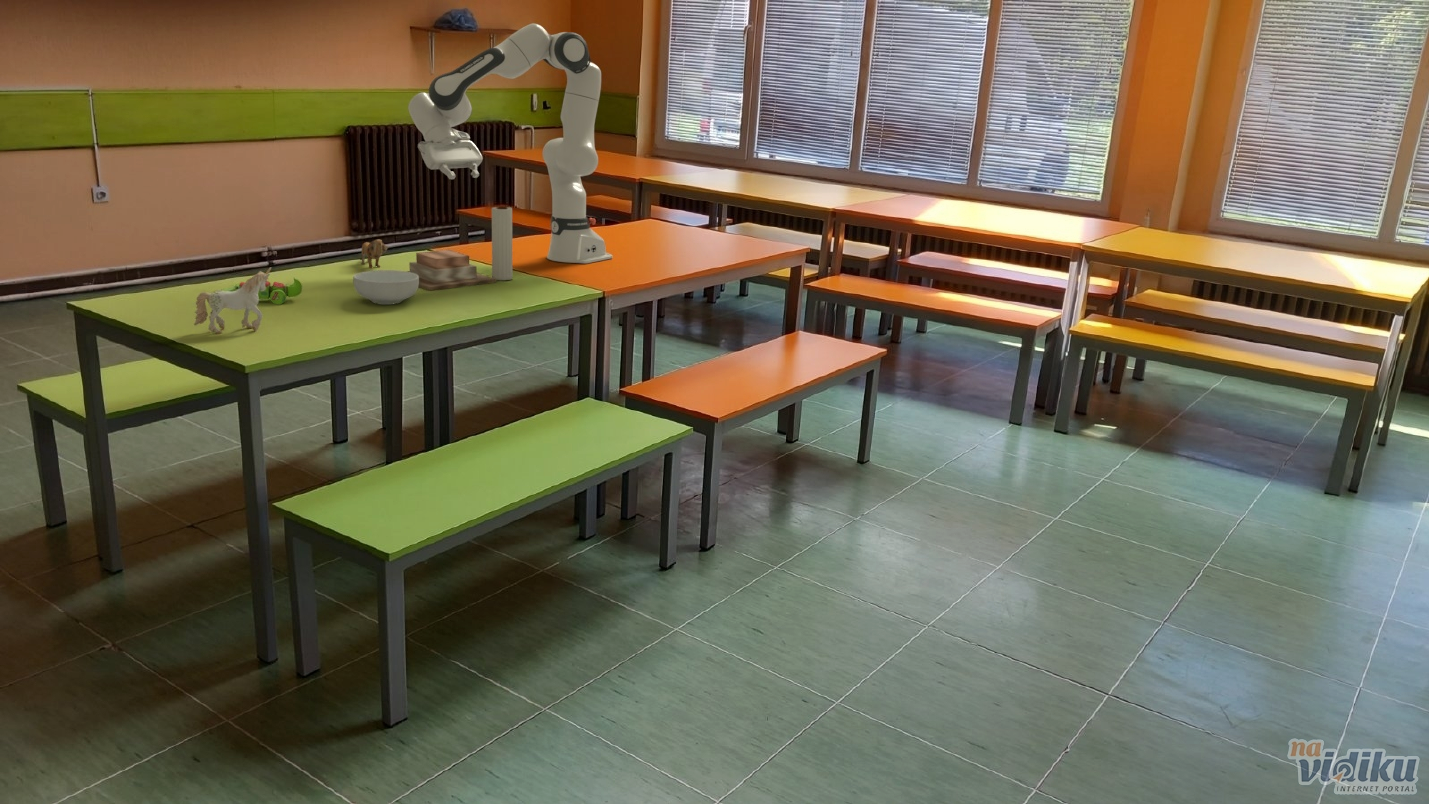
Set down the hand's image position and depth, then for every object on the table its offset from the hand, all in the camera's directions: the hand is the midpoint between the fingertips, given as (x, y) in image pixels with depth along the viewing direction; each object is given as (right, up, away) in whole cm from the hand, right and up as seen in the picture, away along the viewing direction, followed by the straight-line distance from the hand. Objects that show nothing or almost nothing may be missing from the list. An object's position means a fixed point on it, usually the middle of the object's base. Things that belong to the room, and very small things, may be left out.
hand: (464, 177), depth 319 cm
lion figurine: (-30, -26, +6) cm, 40 cm away
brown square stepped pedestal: (-5, -32, -7) cm, 33 cm away
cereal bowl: (-12, -41, -36) cm, 56 cm away
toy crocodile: (-43, -42, -44) cm, 74 cm away
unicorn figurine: (-38, -51, -69) cm, 93 cm away
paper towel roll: (+12, -31, -1) cm, 33 cm away
